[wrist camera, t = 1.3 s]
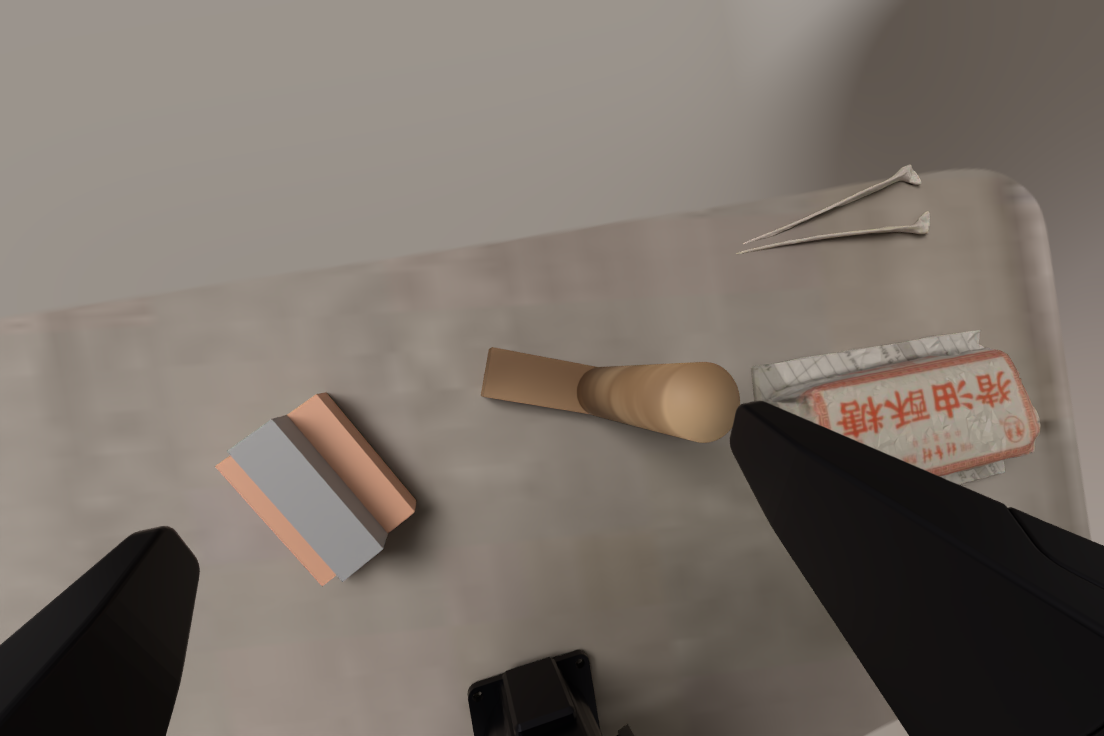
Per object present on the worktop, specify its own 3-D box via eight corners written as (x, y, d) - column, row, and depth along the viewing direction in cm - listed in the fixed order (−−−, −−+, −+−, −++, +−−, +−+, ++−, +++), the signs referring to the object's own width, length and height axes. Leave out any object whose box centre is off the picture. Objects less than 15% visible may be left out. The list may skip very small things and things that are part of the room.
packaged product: (827, 552, 25) (800, 364, 25) (764, 524, 30) (742, 366, 29) (1069, 483, 29) (1048, 322, 29) (981, 468, 34) (962, 330, 34)
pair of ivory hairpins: (903, 168, 33) (931, 156, 31) (920, 235, 33) (948, 227, 31) (675, 230, 30) (690, 220, 28) (695, 302, 30) (711, 298, 28)
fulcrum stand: (416, 500, 24) (412, 525, 20) (331, 568, 23) (310, 607, 19) (326, 392, 23) (304, 395, 19) (234, 458, 22) (191, 476, 18)
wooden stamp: (682, 429, 28) (850, 466, 17) (480, 396, 25) (516, 413, 14) (689, 385, 28) (860, 393, 17) (489, 348, 25) (531, 326, 14)
